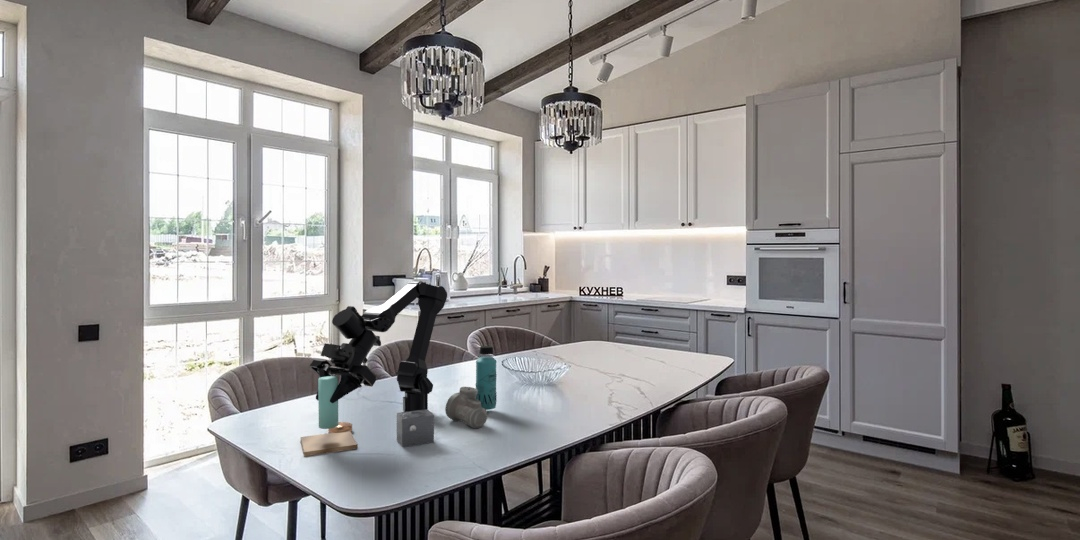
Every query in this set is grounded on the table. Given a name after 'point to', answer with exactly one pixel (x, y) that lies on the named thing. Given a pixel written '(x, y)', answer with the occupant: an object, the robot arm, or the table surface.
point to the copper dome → (341, 427)
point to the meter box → (415, 428)
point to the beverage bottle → (486, 379)
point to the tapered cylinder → (327, 402)
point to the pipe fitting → (466, 408)
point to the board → (328, 443)
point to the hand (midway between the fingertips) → (324, 401)
